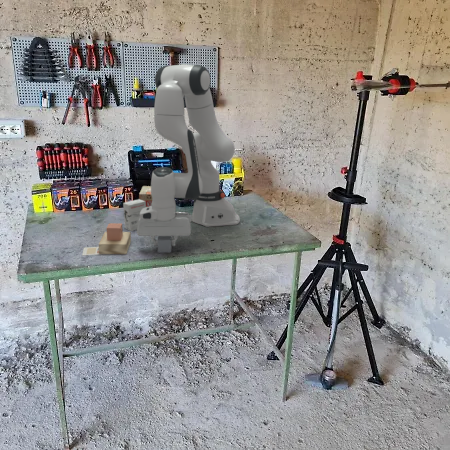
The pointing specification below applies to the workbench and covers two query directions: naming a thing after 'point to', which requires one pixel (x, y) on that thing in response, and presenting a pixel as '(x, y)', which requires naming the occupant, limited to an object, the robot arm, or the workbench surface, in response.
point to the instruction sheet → (91, 251)
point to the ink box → (132, 213)
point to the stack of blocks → (146, 195)
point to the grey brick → (164, 243)
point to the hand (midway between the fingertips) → (164, 245)
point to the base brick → (115, 244)
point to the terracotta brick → (114, 231)
